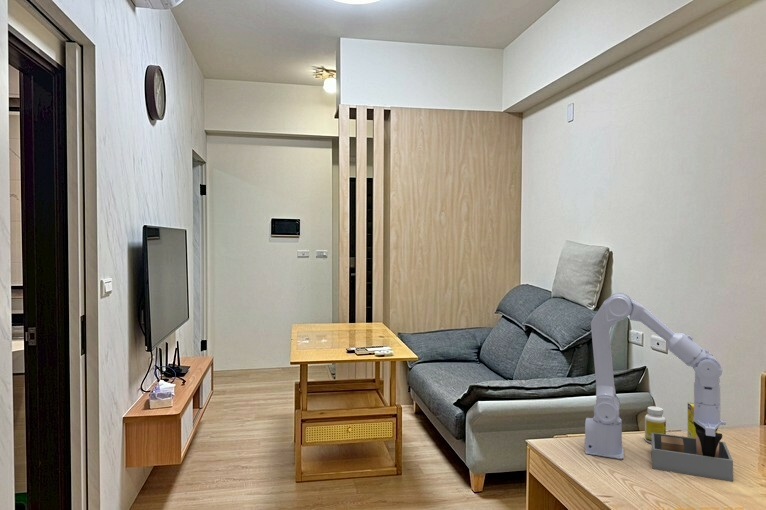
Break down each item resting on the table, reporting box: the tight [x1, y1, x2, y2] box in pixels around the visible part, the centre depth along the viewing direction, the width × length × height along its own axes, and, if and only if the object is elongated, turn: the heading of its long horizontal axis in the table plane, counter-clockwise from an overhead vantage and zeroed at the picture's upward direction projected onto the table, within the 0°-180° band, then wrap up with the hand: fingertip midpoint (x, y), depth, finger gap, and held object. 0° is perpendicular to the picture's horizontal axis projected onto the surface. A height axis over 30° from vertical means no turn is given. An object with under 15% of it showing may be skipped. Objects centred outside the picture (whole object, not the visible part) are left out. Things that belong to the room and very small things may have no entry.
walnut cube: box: [661, 436, 684, 453], centre depth 135 cm, size 5×5×5 cm
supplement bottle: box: [644, 405, 667, 445], centre depth 149 cm, size 5×5×10 cm
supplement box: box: [687, 402, 718, 438], centre depth 148 cm, size 6×6×11 cm
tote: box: [651, 432, 734, 482], centre depth 134 cm, size 17×13×5 cm
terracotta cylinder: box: [696, 434, 719, 458], centre depth 132 cm, size 5×5×7 cm
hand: (707, 454), depth 132 cm, fingers closed on terracotta cylinder, 5 cm apart
